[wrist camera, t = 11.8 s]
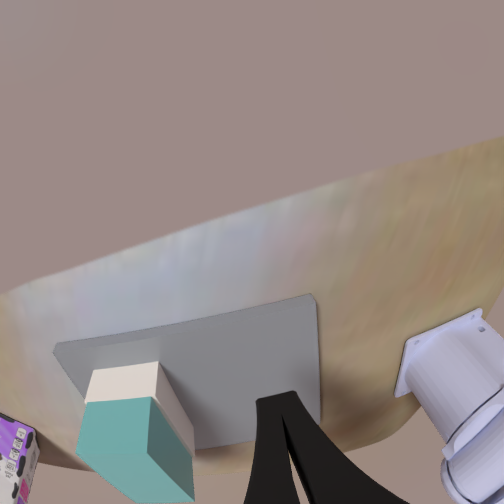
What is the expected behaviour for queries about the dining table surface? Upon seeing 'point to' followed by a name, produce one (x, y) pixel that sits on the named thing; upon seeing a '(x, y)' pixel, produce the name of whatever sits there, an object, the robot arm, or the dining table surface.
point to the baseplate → (206, 369)
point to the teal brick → (136, 451)
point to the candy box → (16, 460)
